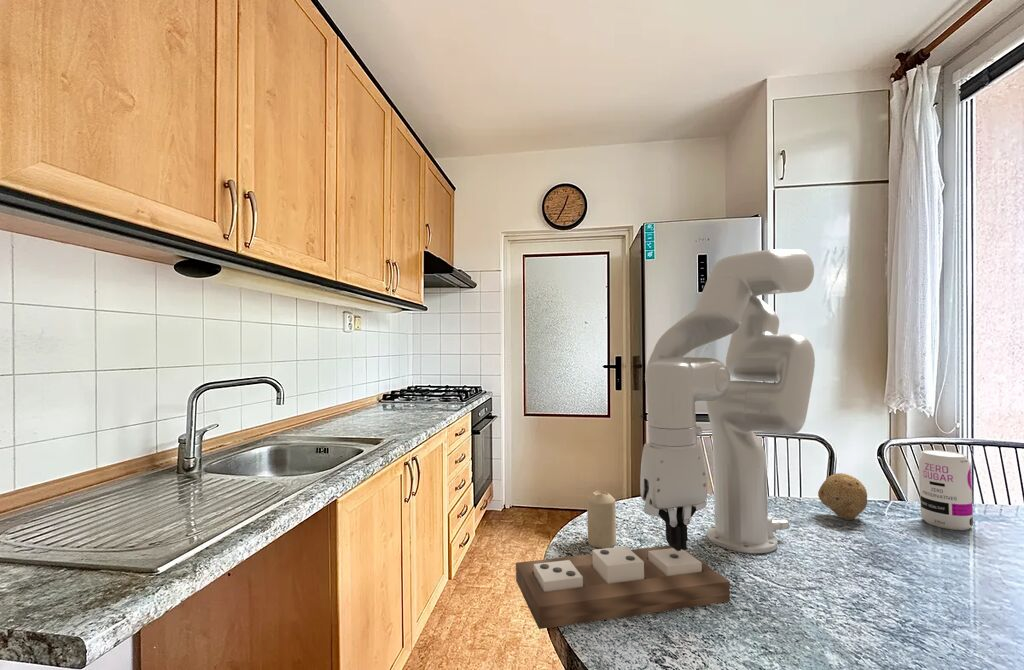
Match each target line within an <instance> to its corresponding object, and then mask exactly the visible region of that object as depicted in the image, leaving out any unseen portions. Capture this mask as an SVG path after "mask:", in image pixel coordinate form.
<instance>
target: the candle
mask: <svg viewBox="0 0 1024 670" xmlns="http://www.w3.org/2000/svg"><path fill="white" fill-rule="evenodd" d="M586 505H587V506H586V507H587V508H586V509H587V516H586V517H587V543H588V545H590V546H592V547H594V548H597V549H605V548H614V547H616V544H617V522H616V521H617V520H616V517H617V515H616V498H614V497H613V495H611V494H610V493H609V492H607V491H606V490H605V489H603V490H595V491H593V492H592V493H590V495H588V496H587V498H586Z"/></svg>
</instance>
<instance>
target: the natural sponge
mask: <svg viewBox="0 0 1024 670" xmlns="http://www.w3.org/2000/svg"><path fill="white" fill-rule="evenodd" d="M817 494H818V495H817V496H818V499H819V500H820V502H821V503H822V504H823V505H825V506H826V507H828V508H829V509H830V510H831V511H832V512H833V513H834V514H835V515H836V516H837V517H839V518H840V519H843V520H845V521H850V520H851V521H852V520H855V519H856V518H857V517H858V516H859V515H860V514H861V513H862V512H864V510H865V509H866V508H867V505H868V493H867V489H866V487H865V485H864V484H863V483H862V482H861V481H860V480H859V479H857V478H856V477H854V476H852V475H850V474H847V473H840V472H839V473H834V474H831V475H829V476H828V477H827V478H826V479H825V480H824V481H823V483H822V484H821V486H820V487H819V490H818V493H817Z"/></svg>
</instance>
